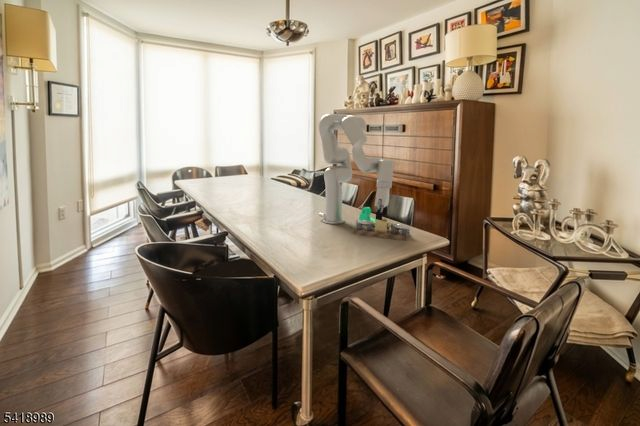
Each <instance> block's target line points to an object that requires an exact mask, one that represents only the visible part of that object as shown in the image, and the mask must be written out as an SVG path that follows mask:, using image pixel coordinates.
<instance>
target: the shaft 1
mask: <svg viewBox="0 0 640 426" xmlns="http://www.w3.org/2000/svg"><path fill="white" fill-rule="evenodd" d="M355 226H356V228H355V230H361V229H362V226H366V227H367V231H372V229H373V227H375V226H374V221H366V220H359V219H356V220H355Z"/></svg>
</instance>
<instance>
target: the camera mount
mask: <svg viewBox="0 0 640 426" xmlns="http://www.w3.org/2000/svg"><path fill="white" fill-rule="evenodd" d="M371 214H372V208H371V207H370V206H367V207H366V206H364V207H362V210H361V212H360V214H359V217H358V220H366V221H374V226H373V227H375V220H376V218H372V217H371Z"/></svg>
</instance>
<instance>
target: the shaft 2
mask: <svg viewBox="0 0 640 426" xmlns="http://www.w3.org/2000/svg"><path fill="white" fill-rule="evenodd" d="M410 228H411V227H410V225H406V224H399V223H394V222H391V223H390V229H391V233H392V234H397V233H398V232H399V231H402V232H401V235H403V236H407V235H408V234H409V232H411V231H410Z"/></svg>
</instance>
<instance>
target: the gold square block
mask: <svg viewBox="0 0 640 426" xmlns="http://www.w3.org/2000/svg"><path fill="white" fill-rule="evenodd" d="M390 222H391V219H390V218H384V217H382V220H376V219H375V226H374V227H375V232H381V233H387V232H388V231H389V229H391V228H390V225H391V223H390Z"/></svg>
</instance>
